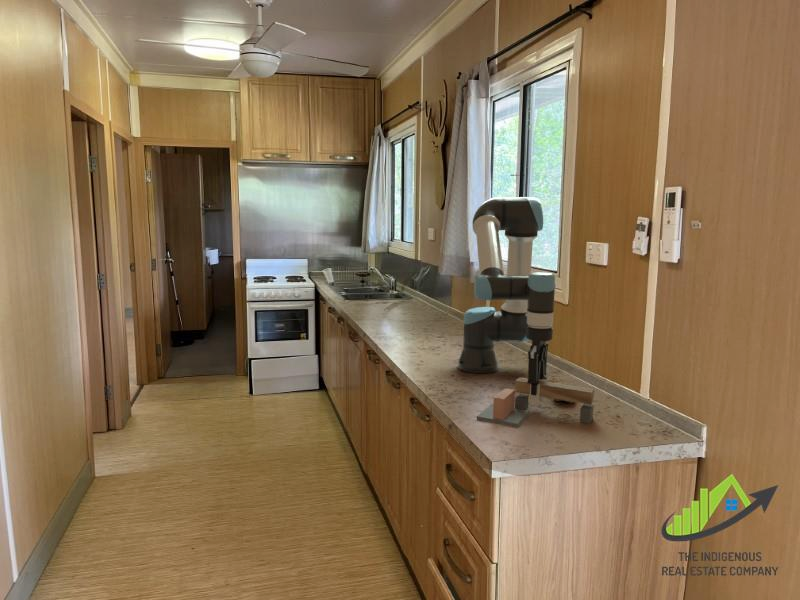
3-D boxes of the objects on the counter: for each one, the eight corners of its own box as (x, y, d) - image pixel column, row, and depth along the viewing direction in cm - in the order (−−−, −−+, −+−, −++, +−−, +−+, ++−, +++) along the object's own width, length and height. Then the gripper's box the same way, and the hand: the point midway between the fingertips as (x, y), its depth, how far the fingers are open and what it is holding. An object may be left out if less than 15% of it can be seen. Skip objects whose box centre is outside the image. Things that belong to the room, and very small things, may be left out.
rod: (518, 388, 173) (519, 377, 172) (593, 401, 162) (594, 388, 161) (515, 392, 169) (515, 380, 169) (591, 404, 159) (591, 392, 158)
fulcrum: (491, 407, 172) (491, 385, 171) (530, 414, 166) (530, 391, 165) (476, 419, 162) (477, 396, 161) (517, 427, 156) (518, 402, 155)
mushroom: (542, 390, 179) (555, 375, 177) (554, 394, 184) (567, 380, 183) (559, 408, 173) (572, 393, 172) (570, 412, 179) (584, 397, 177)
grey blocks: (519, 406, 173) (520, 393, 173) (592, 418, 163) (593, 405, 162) (514, 410, 169) (515, 398, 169) (589, 423, 159) (590, 410, 158)
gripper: (534, 319, 174) (531, 392, 178) (518, 329, 159) (515, 408, 163) (559, 322, 170) (555, 396, 174) (544, 332, 156) (541, 413, 160)
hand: (536, 402), depth 169 cm, fingers closed on rod, 4 cm apart
